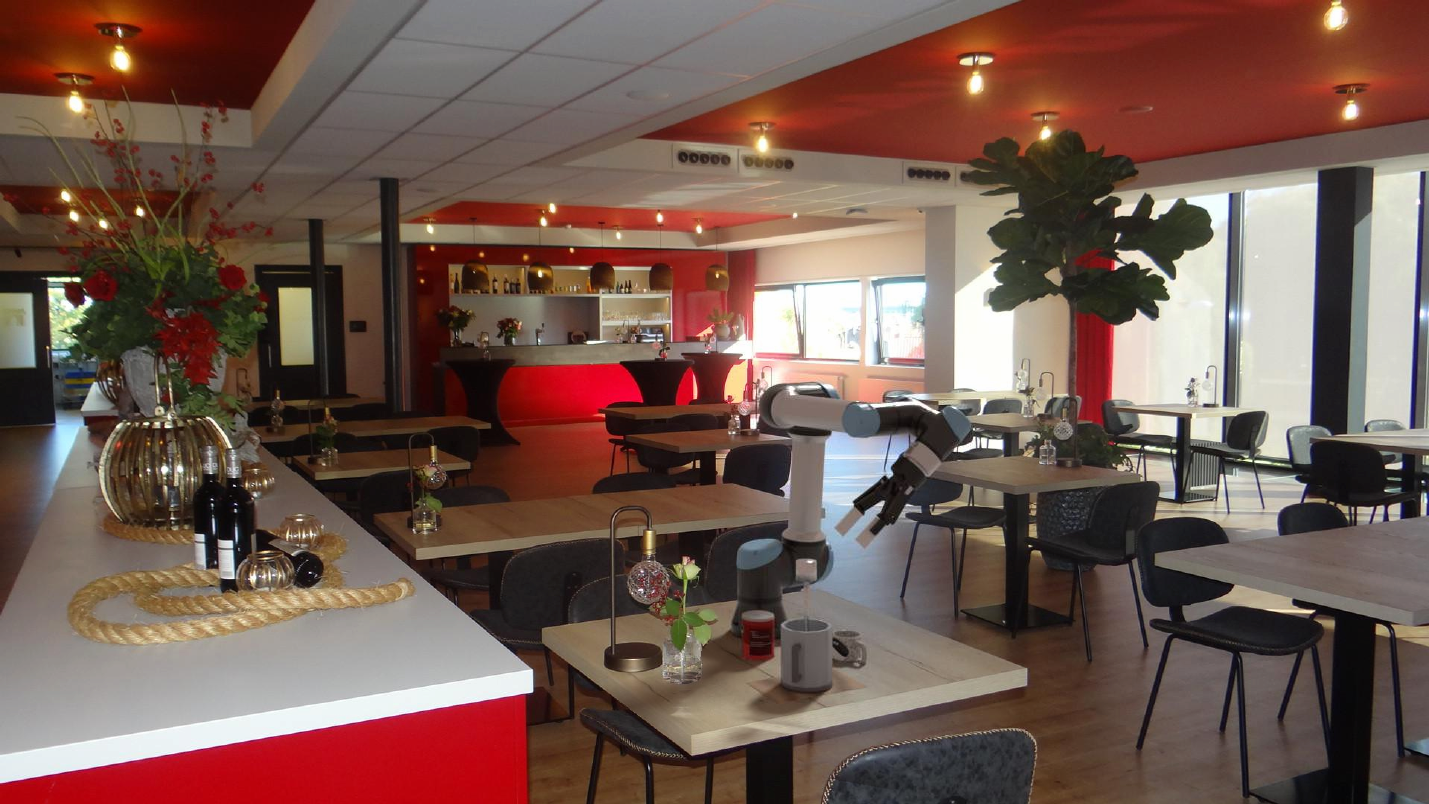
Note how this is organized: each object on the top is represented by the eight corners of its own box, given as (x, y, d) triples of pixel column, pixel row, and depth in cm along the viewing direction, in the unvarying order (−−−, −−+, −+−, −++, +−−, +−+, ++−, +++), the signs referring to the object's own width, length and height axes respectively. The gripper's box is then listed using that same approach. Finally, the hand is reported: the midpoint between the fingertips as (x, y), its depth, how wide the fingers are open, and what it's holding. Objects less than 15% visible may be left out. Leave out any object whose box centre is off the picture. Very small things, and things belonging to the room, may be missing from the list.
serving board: (777, 709, 204) (777, 703, 204) (746, 688, 217) (746, 682, 217) (867, 692, 214) (867, 686, 214) (832, 672, 226) (832, 667, 226)
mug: (826, 660, 235) (826, 633, 235) (847, 655, 239) (847, 628, 239) (855, 672, 227) (855, 643, 227) (876, 666, 231) (876, 638, 230)
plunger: (783, 648, 213) (783, 563, 212) (795, 638, 220) (795, 556, 219) (817, 652, 210) (817, 566, 209) (828, 642, 217) (828, 558, 216)
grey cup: (769, 693, 210) (768, 632, 210) (790, 673, 223) (790, 616, 222) (820, 700, 206) (820, 638, 205) (839, 679, 218) (839, 621, 217)
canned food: (756, 653, 242) (756, 608, 241) (781, 660, 236) (781, 614, 235) (734, 660, 236) (734, 614, 236) (759, 668, 230) (759, 621, 230)
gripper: (881, 448, 229) (819, 516, 227) (926, 461, 205) (857, 537, 202) (903, 471, 230) (841, 538, 228) (950, 486, 206) (881, 561, 204)
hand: (848, 538), depth 215 cm, fingers open, 13 cm apart
